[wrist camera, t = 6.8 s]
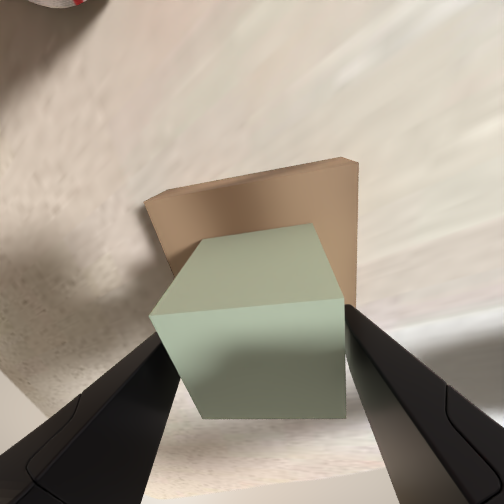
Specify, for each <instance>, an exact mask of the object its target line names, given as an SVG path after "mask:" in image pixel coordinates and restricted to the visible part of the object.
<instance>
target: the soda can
mask: <svg viewBox="0 0 504 504" xmlns="http://www.w3.org/2000/svg"><path fill="white" fill-rule="evenodd" d="M28 1H30V2H33V3H35V4H38V5H41V6H46V7H50V8H68V7H72V6H76V5H79V4H81V3H83V2H85V1H87V0H28Z"/></svg>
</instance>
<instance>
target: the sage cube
mask: <svg viewBox="0 0 504 504" xmlns="http://www.w3.org/2000/svg"><path fill="white" fill-rule="evenodd" d="M149 318H150V320H151V322H152V324H153V325H154V327H155V329H156V331H157V333H158V335H159V337H160V339H161V341H162V343H163V345H164V346H165V348H166V350H167V352H168V354H169V356H170V358H171V360H172V362H173V364H174V366H175V367H176V369H177V371H178V373H179V375H180V377H181V379H182V381H183V383H184V385H185V386H186V388H187V390H188V392H189V394H190V396H191V398H192V400H193V402H194V404H195V406H196V407H197V409H198V411H199V413H200V415H201V417H202V419H346V372H345V310H344V296H343V294H342V291H341V289H340V287H339V284H338V282H337V280H336V277H335V275H334V273H333V270H332V268H331V266H330V263H329V261H328V259H327V256H326V254H325V252H324V249H323V247H322V245H321V242H320V240H319V237H318V235H317V233H316V230H315V228H314V226H313V223H309V224H302V225H296V226H289V227H282V228H276V229H269V230H262V231H255V232H249V233H242V234H235V235H229V236H222V237H215V238H208V239H202V241H201V242H200V244H199V245H198V246H197V248H196V249H195V251H194V252H193V253H192V255H191V256H190V258H189V259H188V261H187V262H186V263H185V265H184V266H183V268H182V269H181V271H180V272H179V273H178V275H177V276H176V278H175V279H174V280H173V282H172V283H171V285H170V286H169V288H168V289H167V290H166V292H165V293H164V295H163V296H162V298H161V299H160V300H159V302H158V303H157V305H156V306H155V307H154V309H153V310H152V312H151V313H150V315H149Z"/></svg>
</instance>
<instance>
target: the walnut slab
mask: <svg viewBox="0 0 504 504" xmlns="http://www.w3.org/2000/svg"><path fill="white" fill-rule="evenodd" d="M358 172H359V163H358V162H355V161H352V160H349V159H346V158H343V157H338V158H333V159H328V160H322V161H317V162H312V163H306V164H301V165H296V166H290V167H285V168H280V169H275V170H269V171H264V172H259V173H253V174H248V175H243V176H237V177H232V178H227V179H222V180H216V181H211V182H206V183H200V184H195V185H190V186H185V187H179V188H174V189H169V190H166V191H164V192H162V193H160V194H158V195H156V196H154V197H152V198H150V199H148V200H146V201H144V204H145V207H146V209H147V212H148V214H149V216H150V219H151V221H152V224H153V226H154V229H155V231H156V233H157V236H158V238H159V241H160V243H161V246H162V248H163V251H164V253H165V255H166V258H167V260H168V263H169V265H170V268H171V270H172V272H173V275H174V277H175V278H176V276H177V275H178V273H179V272H180V271H181V269H182V268H183V266H184V265H185V263H186V262H187V261H188V259H189V258H190V256H191V255H192V253H193V252H194V251H195V249H196V248H197V246H198V245H199V244H200V242H201V241H202V239H208V238H215V237H222V236H229V235H235V234H242V233H249V232H255V231H262V230H269V229H276V228H282V227H289V226H296V225H302V224H309V223H313V226H314V228H315V230H316V233H317V235H318V237H319V240H320V242H321V245H322V247H323V249H324V252H325V254H326V256H327V259H328V261H329V263H330V266H331V268H332V270H333V273H334V275H335V277H336V280H337V282H338V284H339V287H340V289H341V291H342V294H343V296H344V304H351V305H352V306H353V307H355V308H356V272H357V222H358Z"/></svg>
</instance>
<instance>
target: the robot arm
mask: <svg viewBox="0 0 504 504" xmlns="http://www.w3.org/2000/svg"><path fill="white" fill-rule="evenodd" d="M344 310H345V354H346V358H347V362H348V365H349V369H350V372H351V375H352V378H353V381H354V383H355V386H356V389H357V391H358V394H359V397H360V399H361V402H362V405H363V407H364V410H365V413H366V415H367V418H368V421H369V423H370V426H371V429H372V431H373V434H374V436H375V439H376V442H377V444H378V447H379V450H380V452H381V455H382V458H383V460H384V463H385V466H386V468H387V471H388V474H389V476H390V479H391V482H392V484H393V487H394V490H395V492H396V495H397V498H398V500H399V503H400V504H504V427H502V426H501V425H500V424H498V423H497V422H496V421H494V420H493V419H491V418H490V417H489V416H488V415H486V414H485V413H484V412H483V411H481V410H480V409H479V408H478V407H476V406H475V405H474V404H472V403H471V402H470V401H469V400H467V399H466V398H465V397H464V396H462V395H461V394H460V393H459V392H458V391H456V390H455V389H454V388H453V387H451V386H450V385H447V383H446V382H445V381H444V380H443V379H441V378H440V377H439V376H438V375H437V374H435V373H434V372H433V371H432V370H430V369H429V368H428V367H427V366H426V365H424V364H423V363H422V362H421V361H419V360H418V359H417V358H416V357H415V356H413V355H412V354H411V353H410V352H408V351H407V350H406V349H405V348H404V347H402V346H401V345H400V344H399V343H397V342H396V341H395V340H394V339H393V338H391V337H390V336H389V335H388V334H386V333H385V332H384V331H383V330H382V329H380V328H379V327H378V326H377V325H375V324H374V323H373V322H372V321H371V320H369V319H368V318H367V317H366V316H364V315H363V314H362V313H361V312H360V311H358V310H357V309H356V308H355V307H353V306H352V305H351V304H344ZM180 378H181V377H180V375H179V373H178V371H177V369H176V367H175V366H174V364H173V362H172V360H171V358H170V356H169V354H168V352H167V350H166V348H165V346H164V345H163V343H162V341H161V339H160V337H159V335H158V333H157V331H156V332H155V333H154V334H153V335H151V336H150V337H149V338H148V339H146V340H145V341H144V342H143V343H142V344H140V345H139V346H138V347H137V348H135V349H134V350H133V351H132V352H131V353H129V354H128V355H127V356H126V357H124V358H123V359H122V360H121V361H120V362H118V363H117V364H116V365H115V366H113V367H112V368H111V369H110V370H108V371H107V372H106V373H105V374H104V375H102V376H101V377H100V378H99V379H97V380H96V381H95V382H94V383H93V384H91V385H90V386H89V387H88V388H86V389H85V390H84V391H83V392H82V394H79V395H78V396H77V397H75V398H74V399H73V400H72V401H71V402H69V403H68V404H67V405H66V406H64V407H63V408H62V409H61V410H59V411H58V412H57V413H56V414H54V415H53V416H52V417H51V418H49V419H48V420H47V421H45V422H44V423H43V424H41V425H40V426H39V427H38V428H36V429H35V430H34V431H32V432H31V433H30V434H28V435H27V436H26V437H24V438H23V439H22V440H20V441H19V442H18V443H16V444H15V445H14V446H12V447H11V448H10V449H8V450H7V451H5V452H4V453H3V454H1V455H0V504H141V501H142V497H143V494H144V491H145V488H146V485H147V482H148V479H149V476H150V473H151V469H152V466H153V463H154V460H155V457H156V454H157V451H158V447H159V444H160V441H161V438H162V435H163V432H164V429H165V426H166V422H167V419H168V416H169V413H170V410H171V407H172V404H173V400H174V397H175V394H176V391H177V388H178V385H179V381H180Z"/></svg>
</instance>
